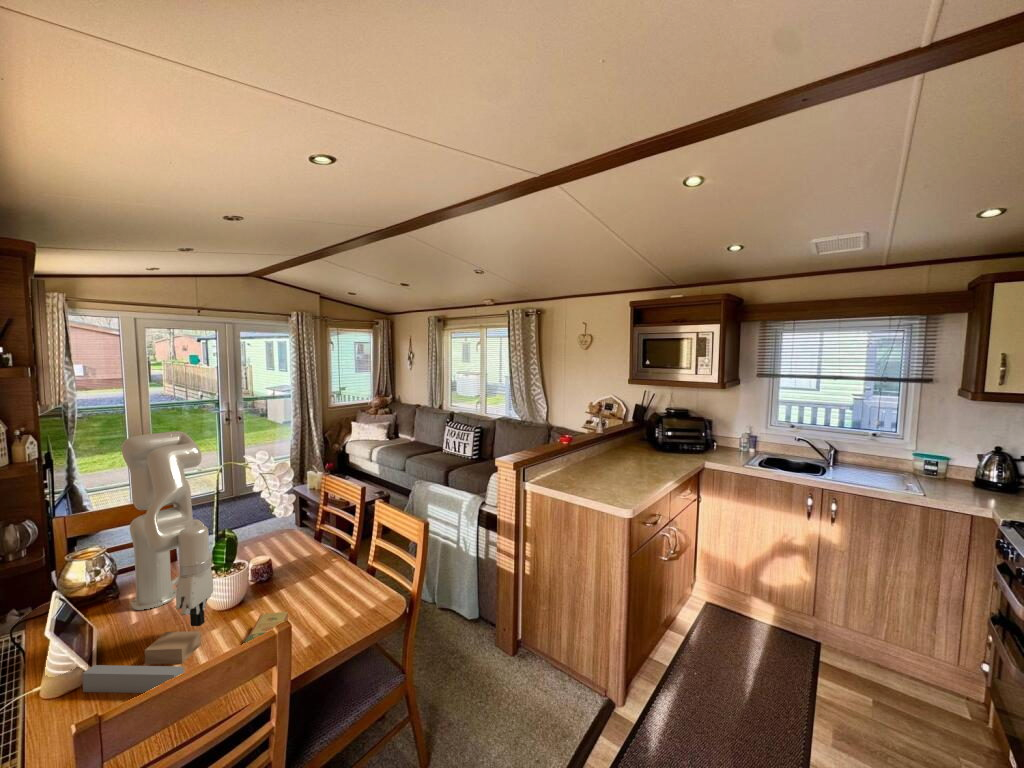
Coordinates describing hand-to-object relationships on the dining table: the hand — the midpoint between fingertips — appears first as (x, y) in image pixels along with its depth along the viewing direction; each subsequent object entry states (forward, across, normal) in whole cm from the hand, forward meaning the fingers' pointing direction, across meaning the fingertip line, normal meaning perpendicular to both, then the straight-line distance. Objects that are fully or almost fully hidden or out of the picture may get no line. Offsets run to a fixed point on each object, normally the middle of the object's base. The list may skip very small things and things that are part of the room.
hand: (197, 624), depth 133 cm
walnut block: (+4, +9, 0) cm, 10 cm away
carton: (+4, +2, +22) cm, 23 cm away
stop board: (+4, +22, 0) cm, 22 cm away
